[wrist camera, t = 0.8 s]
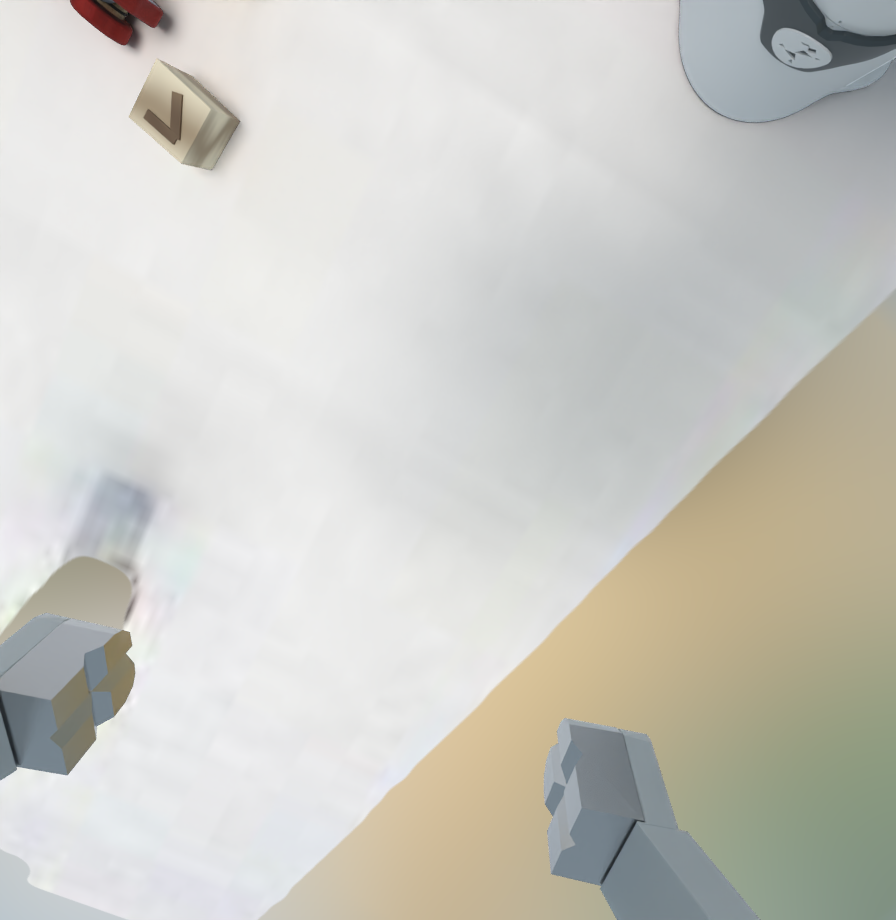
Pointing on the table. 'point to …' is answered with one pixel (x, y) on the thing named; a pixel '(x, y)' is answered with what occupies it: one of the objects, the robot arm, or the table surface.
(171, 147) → the maple cube seven
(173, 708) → the table surface
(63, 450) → the table surface
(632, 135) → the table surface
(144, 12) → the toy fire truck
